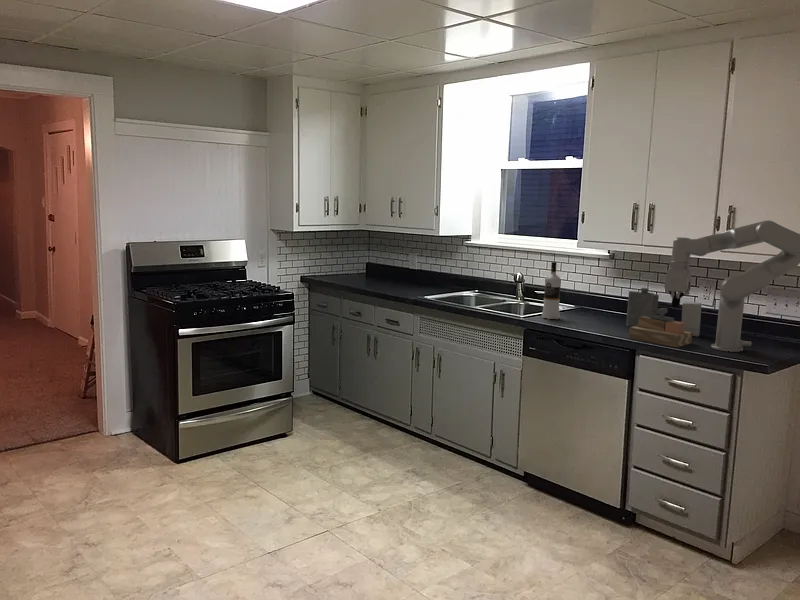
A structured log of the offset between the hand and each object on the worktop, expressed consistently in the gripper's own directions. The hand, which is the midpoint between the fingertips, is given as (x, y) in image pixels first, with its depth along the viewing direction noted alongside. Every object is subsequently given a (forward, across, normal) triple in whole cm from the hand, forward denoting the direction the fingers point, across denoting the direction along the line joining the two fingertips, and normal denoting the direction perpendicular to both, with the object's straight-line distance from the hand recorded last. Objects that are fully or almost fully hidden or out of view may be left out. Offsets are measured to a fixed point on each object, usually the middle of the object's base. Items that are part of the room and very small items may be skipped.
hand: (675, 306), depth 303 cm
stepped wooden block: (+17, -6, 0) cm, 18 cm away
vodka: (+18, -70, +6) cm, 72 cm away
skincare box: (+17, -4, +26) cm, 31 cm away
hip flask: (+17, -27, +23) cm, 39 cm away
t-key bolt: (+7, -6, 0) cm, 9 cm away
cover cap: (+12, +1, 0) cm, 12 cm away
